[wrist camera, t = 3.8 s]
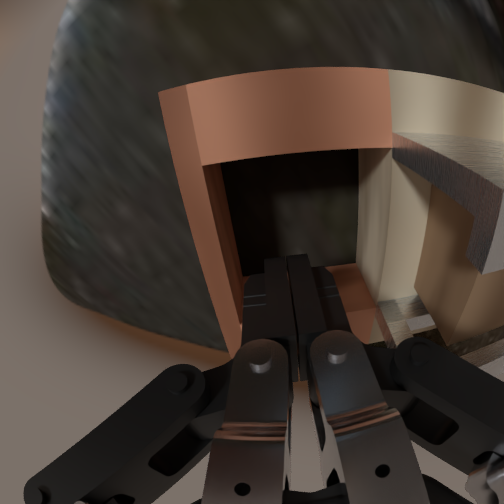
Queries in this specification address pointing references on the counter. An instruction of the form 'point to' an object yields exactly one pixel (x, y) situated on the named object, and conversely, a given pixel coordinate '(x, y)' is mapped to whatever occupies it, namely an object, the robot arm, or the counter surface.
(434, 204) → the walnut block
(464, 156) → the tunnel
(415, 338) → the robot arm
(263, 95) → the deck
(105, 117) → the counter surface
